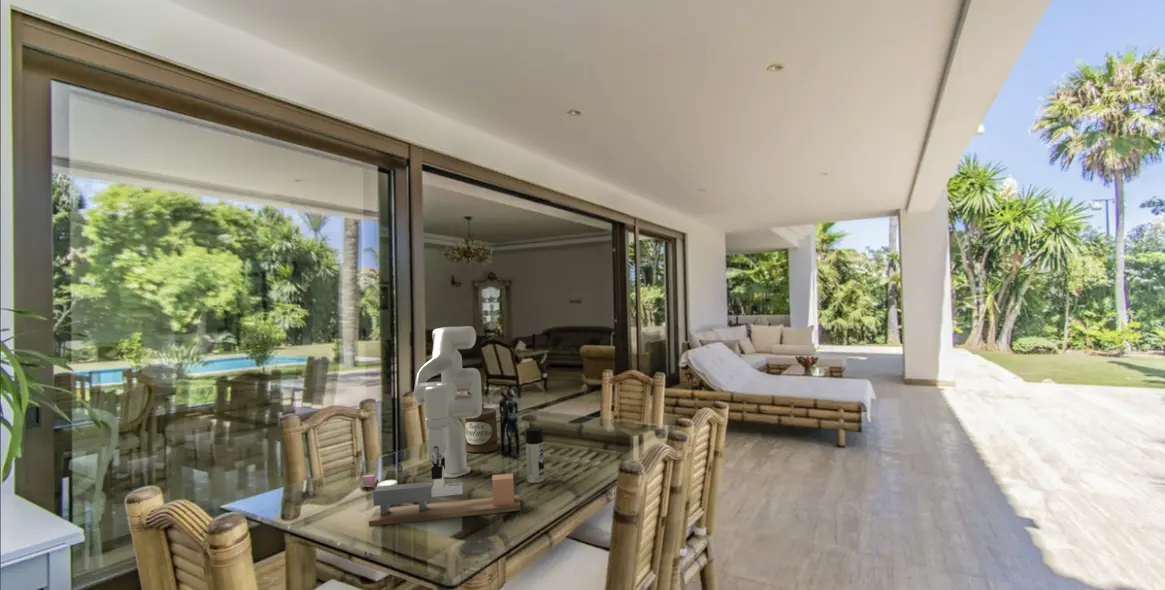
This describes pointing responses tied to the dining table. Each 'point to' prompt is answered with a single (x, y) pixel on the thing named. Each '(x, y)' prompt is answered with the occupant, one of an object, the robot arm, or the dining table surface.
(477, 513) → the base board
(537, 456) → the spray can
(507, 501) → the socket
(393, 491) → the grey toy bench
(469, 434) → the wooden container
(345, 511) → the dining table surface
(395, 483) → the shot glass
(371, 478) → the perfume bottle
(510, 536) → the dining table surface
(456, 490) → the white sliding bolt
